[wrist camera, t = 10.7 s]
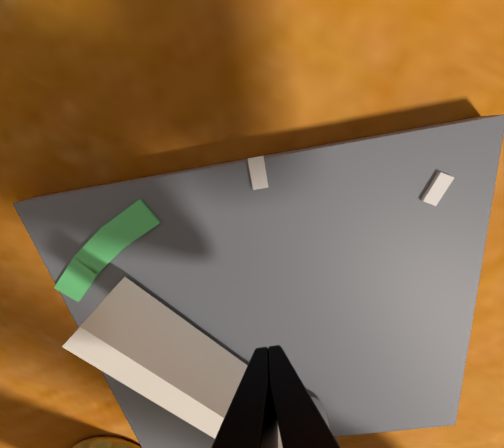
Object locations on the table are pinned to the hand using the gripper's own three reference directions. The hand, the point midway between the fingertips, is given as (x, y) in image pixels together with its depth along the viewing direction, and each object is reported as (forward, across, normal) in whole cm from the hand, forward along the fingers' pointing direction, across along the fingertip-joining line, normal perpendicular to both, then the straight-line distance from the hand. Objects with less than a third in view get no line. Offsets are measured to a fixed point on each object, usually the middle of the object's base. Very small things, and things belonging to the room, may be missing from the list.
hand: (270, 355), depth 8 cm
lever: (+3, +3, +4) cm, 6 cm away
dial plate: (+4, 0, +3) cm, 5 cm away
